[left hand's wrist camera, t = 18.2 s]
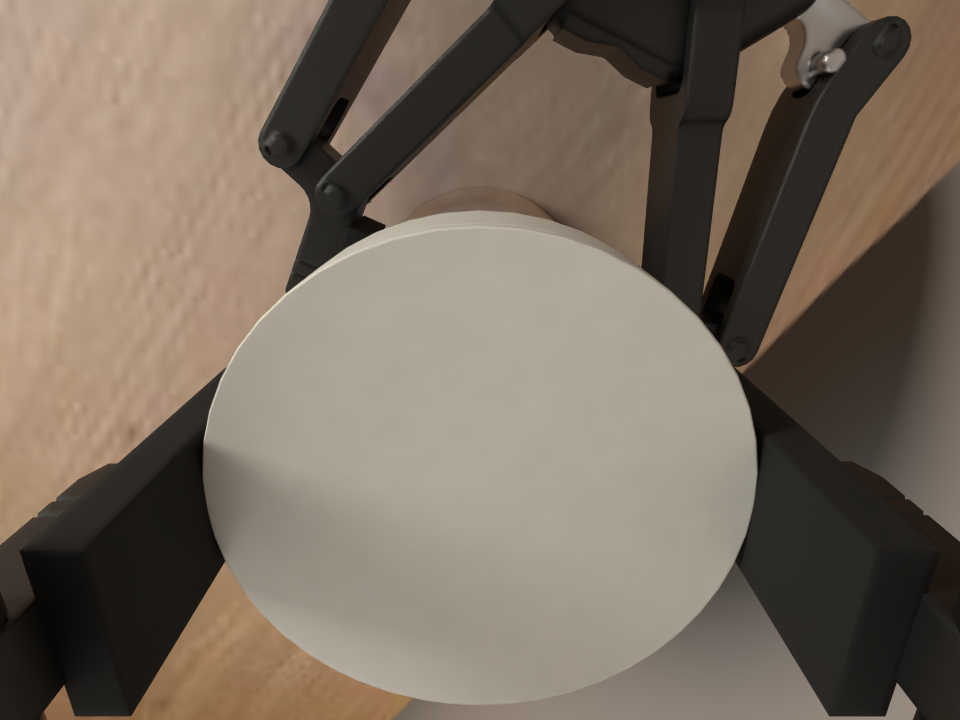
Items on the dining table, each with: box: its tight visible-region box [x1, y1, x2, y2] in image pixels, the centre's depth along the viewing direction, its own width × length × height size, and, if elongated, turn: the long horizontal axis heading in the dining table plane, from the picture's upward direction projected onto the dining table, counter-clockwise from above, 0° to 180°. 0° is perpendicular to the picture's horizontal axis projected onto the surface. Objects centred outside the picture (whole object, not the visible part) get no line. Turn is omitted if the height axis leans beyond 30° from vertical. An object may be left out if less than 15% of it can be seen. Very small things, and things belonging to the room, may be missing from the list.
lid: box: [202, 210, 758, 705], centre depth 11 cm, size 9×9×2 cm
